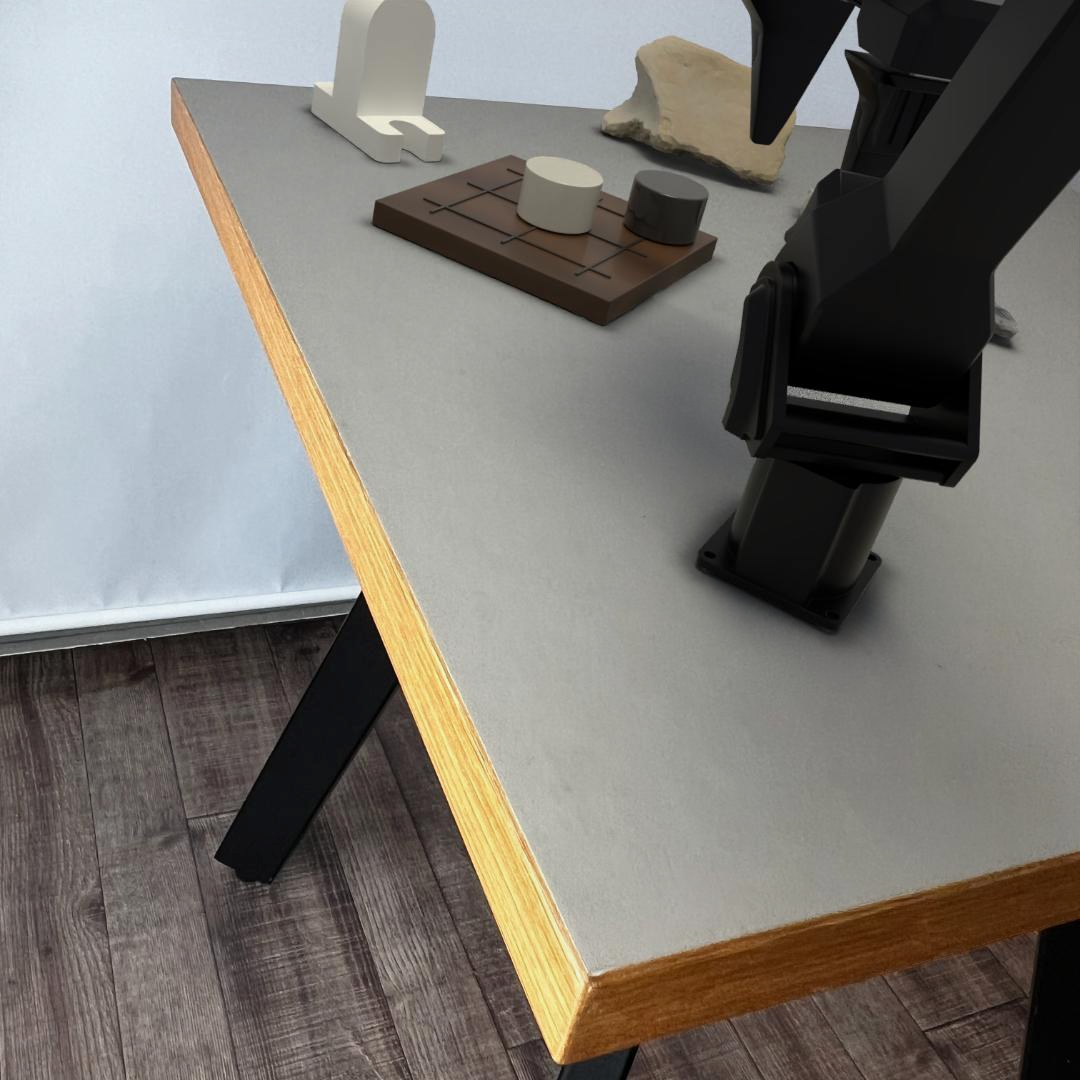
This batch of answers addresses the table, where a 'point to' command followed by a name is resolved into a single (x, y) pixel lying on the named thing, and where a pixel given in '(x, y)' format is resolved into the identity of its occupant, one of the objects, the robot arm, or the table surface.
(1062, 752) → the table surface
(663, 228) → the black stone
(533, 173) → the white stone
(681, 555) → the table surface
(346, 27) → the white slotted stand
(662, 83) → the decorative stone
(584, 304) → the board
